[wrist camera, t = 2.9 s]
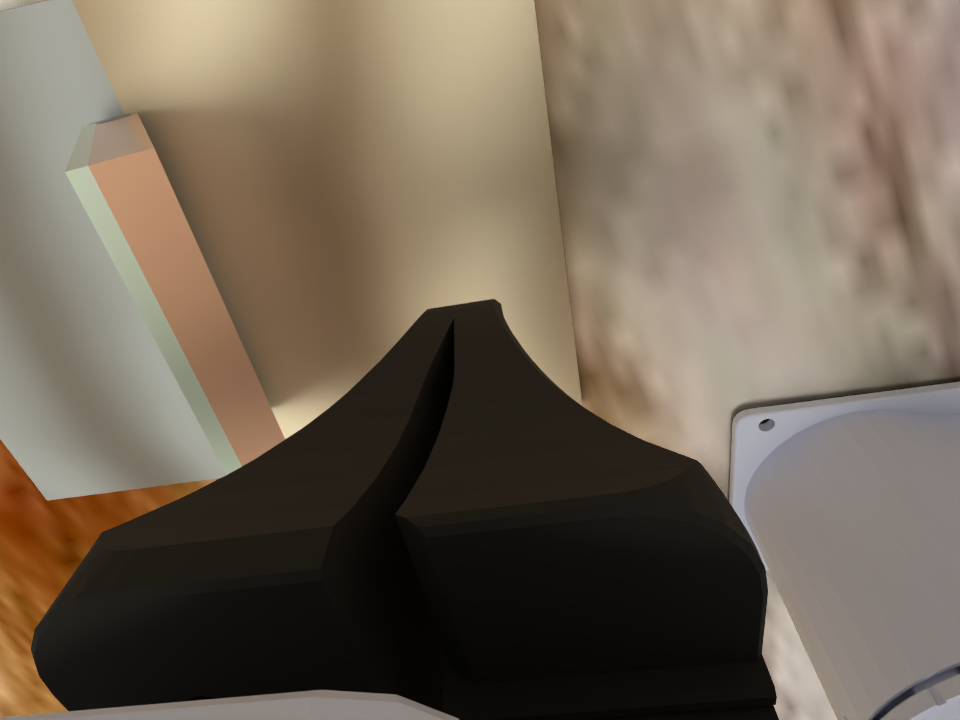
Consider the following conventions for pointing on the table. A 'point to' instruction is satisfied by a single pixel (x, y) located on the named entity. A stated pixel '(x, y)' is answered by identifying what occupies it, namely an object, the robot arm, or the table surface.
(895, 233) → the table surface
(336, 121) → the tile board
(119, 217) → the tile
